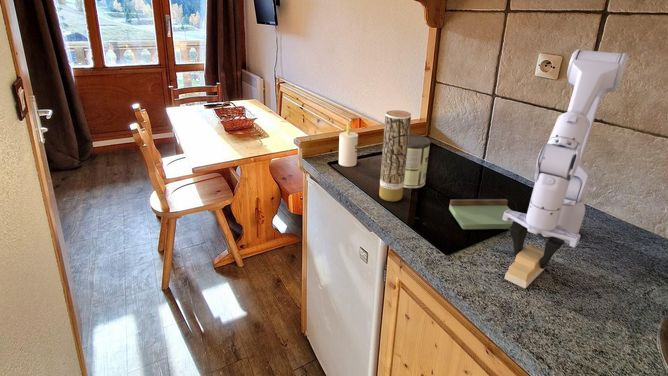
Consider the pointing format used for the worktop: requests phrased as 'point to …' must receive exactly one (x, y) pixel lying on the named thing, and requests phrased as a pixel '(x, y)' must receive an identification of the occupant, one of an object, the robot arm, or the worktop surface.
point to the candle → (348, 148)
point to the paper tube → (394, 154)
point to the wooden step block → (525, 266)
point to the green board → (480, 213)
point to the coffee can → (416, 161)
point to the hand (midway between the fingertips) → (530, 260)
